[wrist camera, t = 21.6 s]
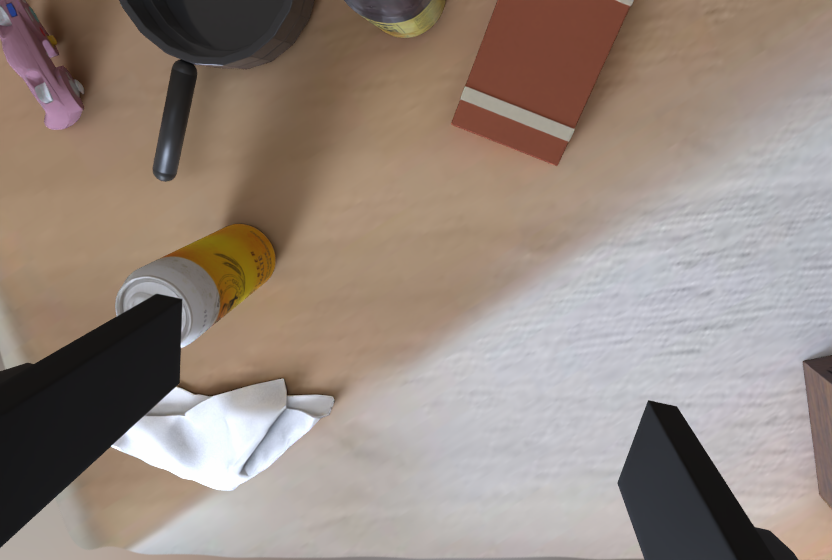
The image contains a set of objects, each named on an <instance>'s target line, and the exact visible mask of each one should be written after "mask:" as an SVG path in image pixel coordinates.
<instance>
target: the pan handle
mask: <svg viewBox="0 0 832 560" xmlns="http://www.w3.org/2000/svg"><path fill="white" fill-rule="evenodd" d="M196 79H197V69H196V67H195V66H194V64H192V63H189V62H187V61H184V60H182V59H181V60H177V61H176V62H175V63H174V64H173V66H172V70H171V76H170V81H169V86H168V91H167V96H166V102H165V107H164V112H163V117H162V122H161V127H160V133H159V138H158V143H157V148H156V153H155V158H154V164H153V173H154V175H155V177H156V178H157V179H159V180H161V181H165V182H166V181H171V180H172V179H174V178H175V176H176V174H177V169H178V165H179V160H180V155H181V150H182V146H183V141H184V136H185V131H186V126H187V122H188V117H189V112H190V107H191V103H192V98H193V93H194V88H195V83H196Z"/></svg>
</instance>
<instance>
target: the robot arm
mask: <svg viewBox="0 0 832 560" xmlns="http://www.w3.org/2000/svg"><path fill="white" fill-rule="evenodd" d="M181 327H182V299H180V298H175V297H171V296H166V295H162V294H155V295H153V296H151V297H150V298H148V299H146V300H145V301H143V302H141V303H139V304H138V305H136V306H134V307H132V308H131V309H129V310H127V311H125V312H124V313H122V314H120V315H118V316H117V317H115V318H113V319H112V320H110V321H108V322H106V323H105V324H103V325H101V326H99V327H98V328H96V329H94V330H92V331H91V332H89V333H87V334H86V335H84V336H82V337H80V338H79V339H77V340H75V341H73V342H72V343H70V344H68V345H66V346H65V347H63V348H61V349H59V350H58V351H56V352H54V353H53V354H51V355H49V356H47V357H46V358H44V359H42V360H40V361H39V362H37V363H35V364H31V363H25V364H22V365H19V366H16V367H13V368H10V369H6V370H3V371H0V547H2V546H3V545H4V544H5V543H6V542H7V541H8V540H9V539H10V538H11V537H12V536H14V535H15V534H16V533H17V532H18V531H19V530H20V529H21V528H22V527H23V526H24V525H25V524H27V523H28V522H29V521H30V520H31V519H32V518H33V517H34V516H35V515H36V514H37V513H39V512H40V511H41V510H42V509H43V508H44V507H45V506H46V505H47V504H49V503H50V502H51V501H52V500H53V499H54V498H55V497H56V496H57V495H58V494H59V493H61V492H62V491H63V490H64V489H65V488H66V487H67V486H68V485H69V484H70V483H71V482H73V481H74V480H75V479H76V478H77V477H78V476H79V475H80V474H81V473H82V472H83V471H85V470H86V469H87V468H88V467H89V466H90V465H91V464H92V463H93V462H94V461H95V460H97V459H98V458H99V457H100V456H101V455H102V454H103V453H104V452H105V451H106V450H107V449H109V448H110V447H111V446H112V445H113V444H114V443H115V442H116V441H117V440H118V439H119V438H121V437H122V436H123V435H124V434H125V433H126V432H127V431H128V430H129V429H130V428H131V427H133V426H134V425H135V424H136V423H137V422H138V421H139V420H140V419H141V418H142V417H143V416H145V415H146V414H147V413H148V412H149V411H150V410H151V409H152V408H153V407H154V406H156V405H157V404H158V403H159V402H160V401H161V400H162V399H163V398H164V397H165V396H166V395H168V394H169V393H170V392H171V391H172V390H173V389H174V388H175V387H176V386H177V385H178V384H179V383H180V355H181ZM618 486H619V489H620V491H621V494H622V497H623V500H624V503H625V506H626V508H627V511H628V514H629V517H630V520H631V522H632V525H633V528H634V531H635V534H636V537H637V539H638V542H639V545H640V548H641V551H642V553H643V556H644V559H645V560H798V559H797V557H796V556H795V554H794V553H793V552H792V551H791V550H790V549H789V548H788V547H787V546H786V545H785V544H784V543H783V542H782V541H780V540H779V539H778V538H777V537H776V536H775V535H774V534H773V533H772V532H771V531H769V530H765V529H761V528H756V527H754V526H753V524H752V523H751V521H750V520H749V518H748V516H747V515H746V513H745V512H744V510H743V509H742V507H741V506H740V504H739V502H738V501H737V499H736V498H735V496H734V495H733V493H732V492H731V490H730V488H729V487H728V485H727V484H726V482H725V481H724V479H723V478H722V476H721V474H720V473H719V471H718V470H717V468H716V467H715V465H714V464H713V462H712V460H711V459H710V457H709V456H708V454H707V453H706V451H705V450H704V448H703V446H702V445H701V443H700V442H699V440H698V439H697V437H696V436H695V434H694V432H693V431H692V429H691V428H690V426H689V425H688V423H687V421H686V420H685V418H684V417H683V415H682V414H681V412H680V411H679V409H678V407H677V406H672V405H667V404H663V403H658V402H654V401H649V400H648V402H647V405H646V408H645V410H644V413H643V416H642V418H641V421H640V424H639V426H638V429H637V432H636V435H635V437H634V440H633V443H632V445H631V448H630V451H629V453H628V456H627V459H626V461H625V464H624V467H623V469H622V472H621V475H620V477H619V480H618Z"/></svg>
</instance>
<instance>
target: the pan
mask: <svg viewBox="0 0 832 560" xmlns="http://www.w3.org/2000/svg"><path fill="white" fill-rule="evenodd" d="M119 1H120V4H121V5H122V7H123V9H124V10H125V12H126V13H127V14H128V16H129V17H130V18H131V20H132V21H133V23H134V24H135V25H136V27H137V28H138V30H139V31H140V32H141V33H142V34H143V35H144V36H145V37H147V38H148V39H149V40H150V41H152V42H153V43H154V44H155V45H157V46H158V47H159V48H160V49H162V50H163V51H164V52H165V53H167V54H169V55H172V56H174V57H177V58H179V59H182V60H184V61H187V62H189V63H192V64H195V65H202V66H209V67H216V68H224V69H250V68H253V67H256V66H259V65H262V64H265V63H268V62H271V61H273V60H275V59H276V58H277V57H278V56H280V55H281V54H282V53H283V52H285V51H286V50H287V49H288V48H290V47H291V46H292V45H293V44H294V43H295V41H296V40H297V38H298V37H299V35H300V33H301V32H302V30H303V29H304V27H305V26H306V24H307V22H308V21H309V19H310V16H311V12H312V8H313V4H314V1H315V0H119Z"/></svg>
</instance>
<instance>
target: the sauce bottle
mask: <svg viewBox="0 0 832 560" xmlns="http://www.w3.org/2000/svg"><path fill="white" fill-rule="evenodd" d="M344 1H345V2H346V3H347V4H348V6H349V7H351V8H352V9H353V10H354V11H355V12H356V13H358V14H359V15H361V16H362V17H363V18H365V19H367V20H368V21H369V22H371V23H372V24H374V25H375V26H377V27H378V28H380V29H381V30H383V31H384V32H385V33H387V34H390V35H392V36H395V37H400V38H410V37H415V36H418V35H420V34H422V33H424V32H426V31H428V30H429V29H430V28H431V27H432V26H433V25H434V24H435V23H436V22H437V20H438V19H439V18H440V16H441V14H442V11H443V9H444V5H445V1H446V0H344Z"/></svg>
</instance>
